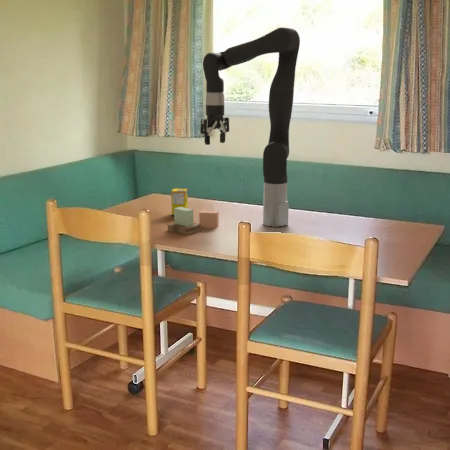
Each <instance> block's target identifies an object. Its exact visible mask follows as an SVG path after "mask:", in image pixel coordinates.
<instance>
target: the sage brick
mask: <svg viewBox="0 0 450 450" xmlns="http://www.w3.org/2000/svg"><path fill="white" fill-rule="evenodd" d="M173 217H174V222H175V224H179V225H183V226H186V227H187V226H191V225H194V223H195V222H194V209H191V208H189V207H188V208H184V207H178V208H174V216H173Z"/></svg>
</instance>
